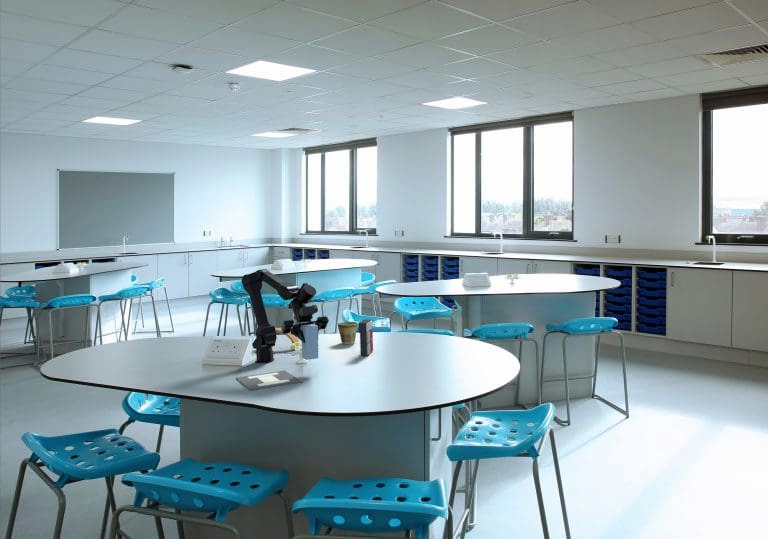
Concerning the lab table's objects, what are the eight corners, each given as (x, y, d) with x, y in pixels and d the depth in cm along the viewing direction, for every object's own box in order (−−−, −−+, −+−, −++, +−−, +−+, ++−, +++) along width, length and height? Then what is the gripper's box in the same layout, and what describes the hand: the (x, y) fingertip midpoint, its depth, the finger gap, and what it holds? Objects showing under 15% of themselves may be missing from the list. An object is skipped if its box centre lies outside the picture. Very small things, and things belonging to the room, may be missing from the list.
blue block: (306, 359, 235) (305, 327, 234) (302, 357, 240) (301, 325, 239) (318, 358, 237) (317, 325, 236) (313, 355, 242) (313, 324, 241)
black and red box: (368, 356, 268) (367, 323, 266) (359, 356, 268) (358, 323, 267) (373, 351, 278) (372, 319, 277) (364, 351, 279) (363, 319, 278)
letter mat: (250, 390, 217) (250, 389, 217) (235, 378, 235) (235, 377, 235) (302, 382, 227) (302, 380, 227) (284, 371, 244) (284, 370, 244)
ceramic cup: (357, 344, 294) (357, 324, 293) (337, 345, 294) (336, 325, 293) (359, 339, 307) (358, 320, 306) (339, 340, 307) (339, 320, 306)
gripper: (282, 300, 236) (293, 332, 227) (326, 296, 245) (338, 327, 236) (276, 317, 243) (286, 349, 234) (319, 313, 252) (330, 343, 243)
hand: (311, 341), depth 237 cm, fingers closed on blue block, 5 cm apart
